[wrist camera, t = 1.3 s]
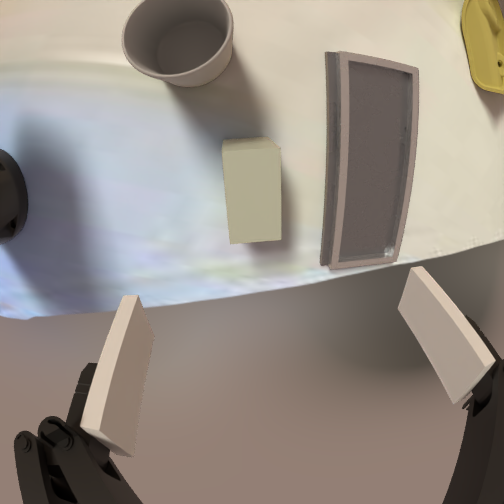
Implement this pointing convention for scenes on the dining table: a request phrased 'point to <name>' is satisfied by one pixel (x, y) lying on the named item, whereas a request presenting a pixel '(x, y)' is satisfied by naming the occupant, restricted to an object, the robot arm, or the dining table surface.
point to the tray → (368, 158)
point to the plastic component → (484, 43)
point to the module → (252, 189)
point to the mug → (179, 40)
